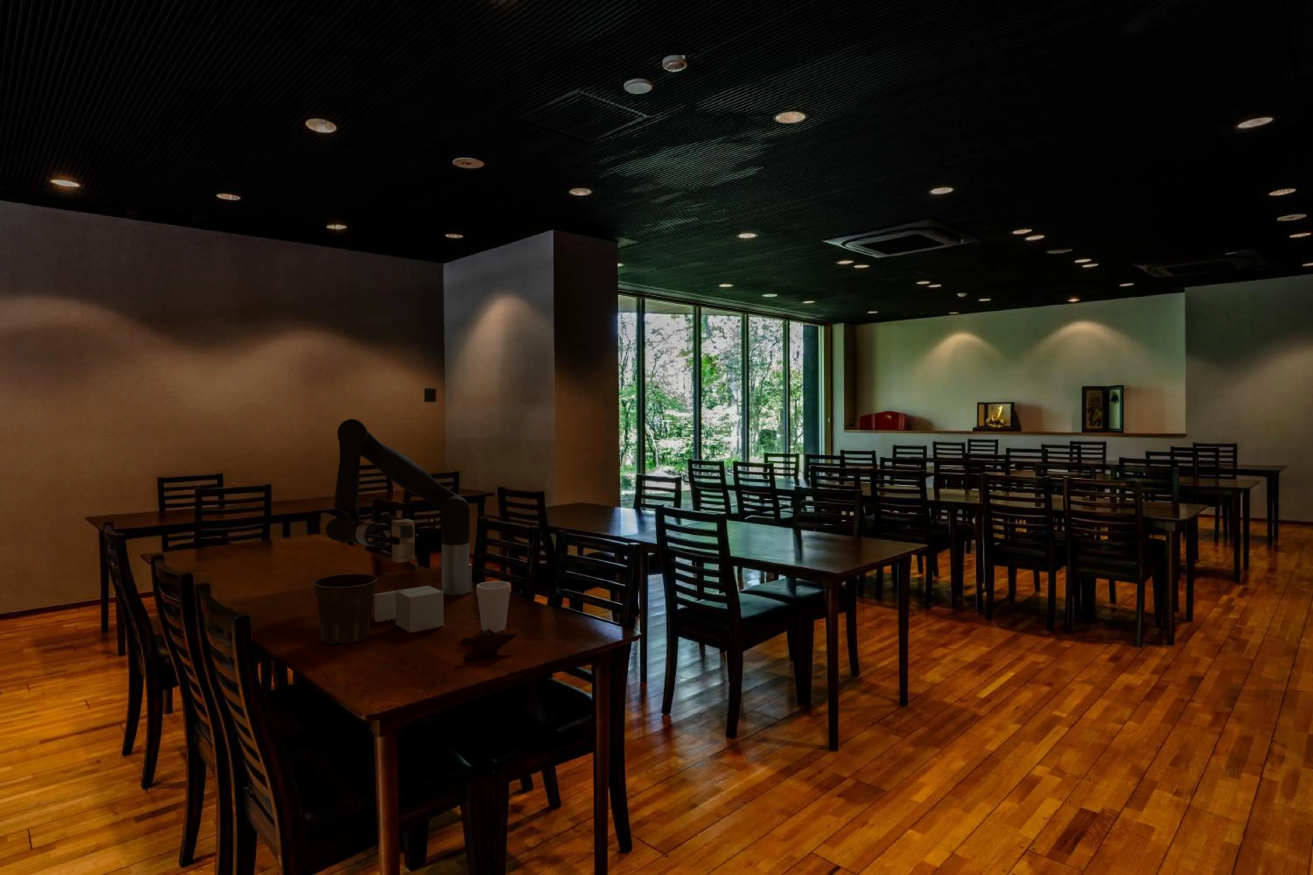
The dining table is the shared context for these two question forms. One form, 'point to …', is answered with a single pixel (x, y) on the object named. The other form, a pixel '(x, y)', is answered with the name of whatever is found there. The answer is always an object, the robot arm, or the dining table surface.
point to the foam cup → (493, 604)
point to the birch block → (403, 540)
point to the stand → (419, 608)
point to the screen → (385, 606)
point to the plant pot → (345, 607)
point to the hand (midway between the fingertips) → (408, 539)
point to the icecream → (486, 643)
